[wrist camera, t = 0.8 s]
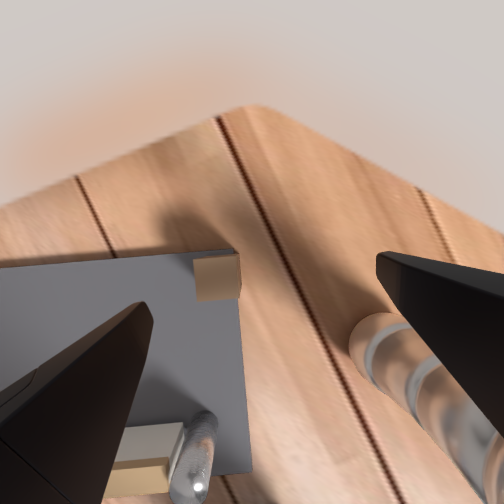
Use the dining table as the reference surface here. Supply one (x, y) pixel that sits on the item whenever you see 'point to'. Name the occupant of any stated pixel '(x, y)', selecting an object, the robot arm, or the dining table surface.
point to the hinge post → (195, 460)
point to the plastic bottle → (430, 399)
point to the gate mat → (161, 344)
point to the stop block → (217, 277)
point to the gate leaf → (145, 460)
